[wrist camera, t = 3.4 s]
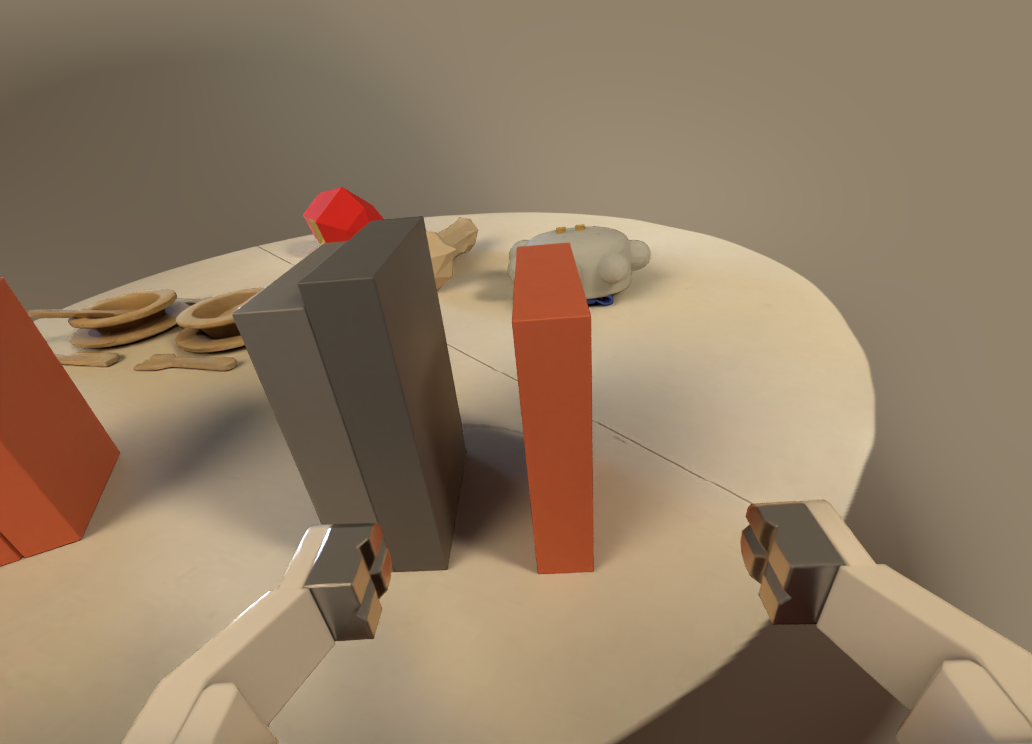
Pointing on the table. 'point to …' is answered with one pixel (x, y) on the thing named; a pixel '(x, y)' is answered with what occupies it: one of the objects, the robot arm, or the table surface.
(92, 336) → the tableware set
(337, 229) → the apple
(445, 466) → the grey books
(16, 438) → the matching books
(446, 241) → the faceted club
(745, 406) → the table surface
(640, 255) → the figurine
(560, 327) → the terracotta book
